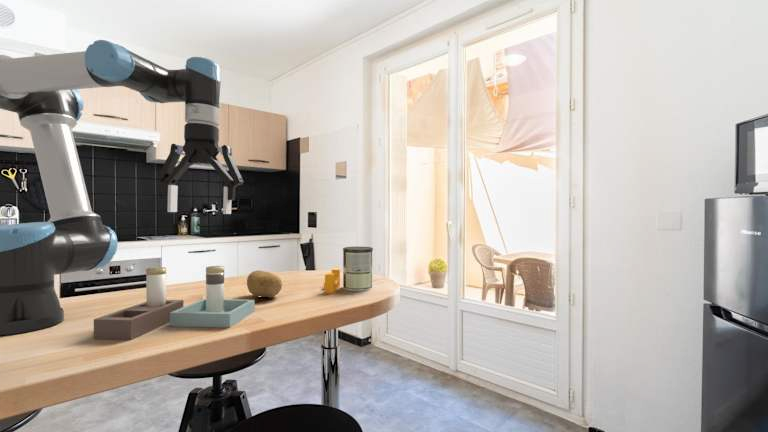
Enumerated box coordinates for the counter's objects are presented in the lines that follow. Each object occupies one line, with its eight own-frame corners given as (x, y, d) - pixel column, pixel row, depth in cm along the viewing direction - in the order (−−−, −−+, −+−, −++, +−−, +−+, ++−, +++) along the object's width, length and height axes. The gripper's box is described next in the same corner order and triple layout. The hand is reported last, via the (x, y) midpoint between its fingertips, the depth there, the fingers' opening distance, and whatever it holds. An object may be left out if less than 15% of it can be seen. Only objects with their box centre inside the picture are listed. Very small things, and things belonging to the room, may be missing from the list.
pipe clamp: (327, 287, 134) (328, 268, 134) (340, 287, 134) (340, 269, 134) (319, 294, 122) (319, 274, 122) (332, 294, 122) (332, 274, 122)
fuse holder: (93, 338, 77) (93, 319, 77) (152, 315, 95) (152, 299, 95) (131, 339, 77) (131, 320, 77) (183, 316, 95) (183, 300, 95)
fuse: (141, 320, 89) (142, 269, 89) (153, 316, 93) (153, 267, 93) (158, 321, 88) (158, 269, 88) (169, 316, 92) (169, 267, 92)
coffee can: (337, 287, 132) (337, 247, 132) (360, 284, 138) (361, 245, 138) (354, 292, 124) (354, 249, 124) (378, 289, 130) (378, 248, 130)
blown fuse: (202, 318, 91) (202, 268, 91) (211, 313, 95) (211, 265, 95) (219, 318, 91) (219, 268, 90) (227, 313, 95) (227, 266, 95)
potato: (259, 304, 107) (259, 276, 107) (239, 296, 118) (239, 270, 118) (290, 299, 114) (290, 272, 114) (269, 292, 124) (269, 267, 124)
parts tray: (169, 326, 86) (169, 312, 86) (202, 310, 100) (202, 298, 100) (229, 327, 85) (229, 314, 85) (254, 311, 99) (254, 299, 99)
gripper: (141, 120, 88) (139, 211, 89) (246, 122, 87) (243, 214, 88) (161, 127, 96) (159, 211, 96) (258, 129, 95) (256, 214, 95)
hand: (199, 213), depth 92 cm, fingers open, 13 cm apart
